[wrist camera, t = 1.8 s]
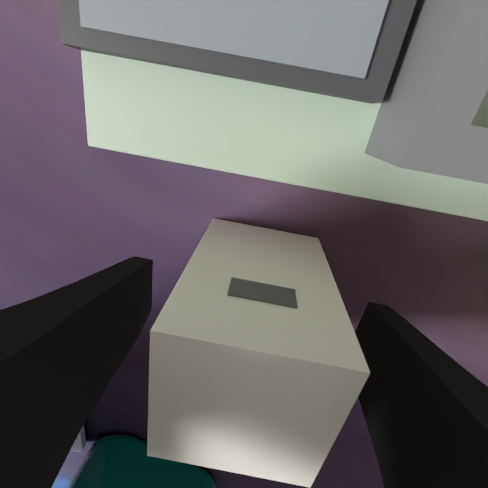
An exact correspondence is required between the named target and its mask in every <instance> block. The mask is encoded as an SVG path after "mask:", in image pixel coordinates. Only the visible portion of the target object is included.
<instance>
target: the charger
mask: <svg viewBox="0 0 488 488" xmlns="http://www.w3.org/2000/svg"><path fill="white" fill-rule="evenodd" d="M369 375H370V370H369V368H368V365H367V363H366V360H365V357H364V355H363V352H362V350H361V347H360V344H359V342H358V339H357V337H356V334H355V332H354V329H353V326H352V324H351V321H350V319H349V316H348V313H347V311H346V308H345V306H344V303H343V300H342V298H341V295H340V293H339V290H338V288H337V285H336V282H335V280H334V277H333V275H332V272H331V269H330V267H329V264H328V262H327V259H326V257H325V254H324V251H323V249H322V246H321V244H320V241H319V238H315V237H310V236H305V235H299V234H294V233H289V232H284V231H278V230H273V229H268V228H262V227H257V226H252V225H247V224H241V223H236V222H231V221H225V220H220V219H215V218H213V219H212V221H211V223H210V225H209V226H208V228H207V230H206V232H205V234H204V235H203V237H202V239H201V241H200V242H199V244H198V246H197V248H196V250H195V251H194V253H193V255H192V257H191V258H190V260H189V262H188V264H187V266H186V267H185V269H184V271H183V273H182V274H181V276H180V278H179V280H178V282H177V283H176V285H175V287H174V289H173V291H172V292H171V294H170V296H169V298H168V299H167V301H166V303H165V305H164V307H163V308H162V310H161V312H160V314H159V315H158V317H157V319H156V321H155V323H154V324H153V326H152V328H151V330H150V353H149V394H148V436H147V456H152V457H157V458H162V459H167V460H172V461H177V462H182V463H187V464H192V465H197V466H202V467H207V468H213V469H218V470H223V471H228V472H233V473H238V474H243V475H248V476H253V477H258V478H263V479H268V480H273V481H279V482H284V483H289V484H294V485H299V486H304V487H309V488H311V486H312V484H313V482H314V480H315V478H316V476H317V474H318V472H319V470H320V469H321V467H322V465H323V463H324V461H325V459H326V457H327V455H328V453H329V451H330V449H331V448H332V446H333V444H334V442H335V440H336V438H337V436H338V434H339V432H340V430H341V428H342V426H343V425H344V423H345V421H346V419H347V417H348V415H349V413H350V411H351V409H352V407H353V405H354V404H355V402H356V400H357V398H358V396H359V394H360V392H361V390H362V388H363V386H364V384H365V383H366V381H367V379H368V377H369Z"/></svg>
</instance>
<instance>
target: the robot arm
mask: <svg viewBox="0 0 488 488" xmlns="http://www.w3.org/2000/svg"><path fill="white" fill-rule="evenodd" d="M152 266H153V260H150V259H145V258H140V257H132V258H129V259H127V260H124V261H122V262H120V263H117V264H115V265H113V266H111V267H108V268H106V269H104V270H102V271H99V272H97V273H95V274H93V275H90V276H88V277H86V278H84V279H81V280H79V281H77V282H74V283H72V284H69V285H67V286H64V287H62V288H59V289H57V290H54V291H52V292H49V293H47V294H44V295H42V296H39V297H37V298H34V299H31V300H29V301H26V302H23V303H20V304H17V305H14V306H11V307H8V308H5V309H2V310H0V488H51V487H52V485H53V483H54V481H55V479H56V477H57V475H58V473H59V471H60V469H61V467H62V465H63V463H64V461H65V459H66V457H67V455H68V453H69V451H70V450H71V451H76V452H79V451H82V450H83V449H84V447H85V445H86V437H85V430H84V423H85V421H86V419H87V417H88V415H89V413H90V412H91V410H92V408H93V407H94V405H95V403H96V402H97V400H98V398H99V397H100V395H101V394H102V392H103V391H104V389H105V387H106V386H107V384H108V383H109V381H110V380H111V378H112V377H113V375H114V374H115V372H116V370H117V369H118V367H119V366H120V364H121V363H122V361H123V360H124V358H125V357H126V355H127V353H128V352H129V350H130V349H131V347H132V346H133V344H134V342H135V341H136V339H137V338H138V336H139V334H140V332H141V330H142V328H143V326H144V324H145V322H146V320H147V317H148V315H149V313H150V311H151V305H152ZM355 334H356V337H357V339H358V342H359V344H360V347H361V350H362V352H363V355H364V357H365V360H366V363H367V365H368V368H369V370H370V375H369V377H368V379H367V381H366V383H365V384H364V386H363V388H362V390H361V392H360V394H359V396H358V397H359V400H360V403H361V407H362V410H363V413H364V416H365V420H366V423H367V426H368V429H369V433H370V436H371V439H372V442H373V446H374V449H375V452H376V455H377V459H378V463H379V467H380V470H381V474H382V479H383V483H384V488H488V387H487V386H486V385H485V384H483V383H482V382H481V381H479V380H478V379H477V378H476V377H474V376H473V375H472V374H470V373H469V372H468V371H467V370H465V369H464V368H463V367H462V366H460V365H459V364H458V363H457V362H456V361H454V360H453V359H452V358H451V357H449V356H448V355H447V354H446V353H445V352H443V351H442V350H441V349H440V348H439V347H437V346H436V345H435V344H434V343H433V342H432V341H430V340H429V339H428V338H427V337H426V336H425V335H423V334H422V333H421V332H420V331H419V330H417V329H416V328H415V327H414V326H413V325H412V324H410V323H409V322H408V321H407V320H406V319H404V318H403V317H402V316H401V315H399V314H398V313H397V312H396V311H394V310H393V309H391V308H390V307H389V306H386V305H381V304H376V303H371V302H369V303H368V305H367V307H366V309H365V312H364V314H363V316H362V318H361V320H360V323H359V325H358V327H357V329H356V331H355Z"/></svg>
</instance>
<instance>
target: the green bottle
mask: <svg viewBox="0 0 488 488" xmlns="http://www.w3.org/2000/svg"><path fill="white" fill-rule="evenodd" d="M63 488H216V484H215V482H214V480H213V478H212V476H211V475H210V474H209V473H208V472H207V471H206V470H204V469H203V468H201V467H199V466H196V465H192V464H187V463H182V462H177V461H172V460H167V459H162V458H157V457H152V456H147V442H145V441H142V440H140V439H138V438H136V437H134V436H129V435H125V434H110V435H107V436H105V437H102V438H100V439H98V440H97V441H95V442H94V444H93V445H92V446H91V448H90V449H89V450H88V452H87V453H86V455H85V456H84V457H83V459H82V460H81V461H80V463H79V464H78V466H77V467H76V468H75V470H74V471H73V472H72V474H71V475H70V477H69V478H68V480H67V482H66V483H65V485H64V487H63Z"/></svg>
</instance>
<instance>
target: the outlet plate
mask: <svg viewBox="0 0 488 488" xmlns="http://www.w3.org/2000/svg"><path fill="white" fill-rule="evenodd" d="M57 10H58V20H59V30H60V41H61V43H62V44H65V45H68V46H71V47H74V48H76V49H79V50H81V57H82V70H83V84H84V97H85V111H86V124H87V138H88V146H92V147H98V148H103V149H108V150H114V151H119V152H124V153H129V154H135V155H140V156H145V157H151V158H156V159H161V160H167V161H172V162H177V163H183V164H188V165H193V166H198V167H204V168H209V169H214V170H220V171H225V172H230V173H236V174H241V175H246V176H251V177H257V178H262V179H267V180H273V181H278V182H283V183H289V184H294V185H299V186H304V187H310V188H315V189H320V190H326V191H331V192H336V193H342V194H347V195H352V196H358V197H363V198H368V199H373V200H379V201H384V202H389V203H395V204H400V205H405V206H411V207H416V208H421V209H426V210H432V211H437V212H442V213H448V214H453V215H458V216H464V217H469V218H474V219H480V220H485V221H488V0H57Z"/></svg>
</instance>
